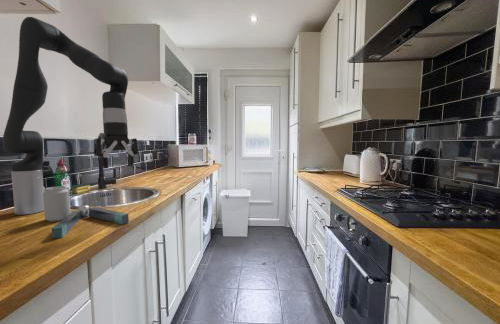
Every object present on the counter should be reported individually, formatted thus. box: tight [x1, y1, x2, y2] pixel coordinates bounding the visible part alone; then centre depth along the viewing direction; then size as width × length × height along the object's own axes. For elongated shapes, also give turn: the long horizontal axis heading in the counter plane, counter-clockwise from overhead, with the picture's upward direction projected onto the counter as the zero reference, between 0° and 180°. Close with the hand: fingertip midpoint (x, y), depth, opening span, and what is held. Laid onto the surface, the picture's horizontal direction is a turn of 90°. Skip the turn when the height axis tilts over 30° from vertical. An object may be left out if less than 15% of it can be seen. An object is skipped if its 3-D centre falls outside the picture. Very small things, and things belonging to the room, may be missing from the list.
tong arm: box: [89, 206, 130, 225], centre depth 87 cm, size 20×2×3 cm, turn 62°
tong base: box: [51, 204, 90, 240], centre depth 82 cm, size 24×4×4 cm, turn 22°
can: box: [43, 185, 72, 223], centre depth 88 cm, size 8×8×12 cm
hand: (118, 167), depth 86 cm, fingers open, 8 cm apart
